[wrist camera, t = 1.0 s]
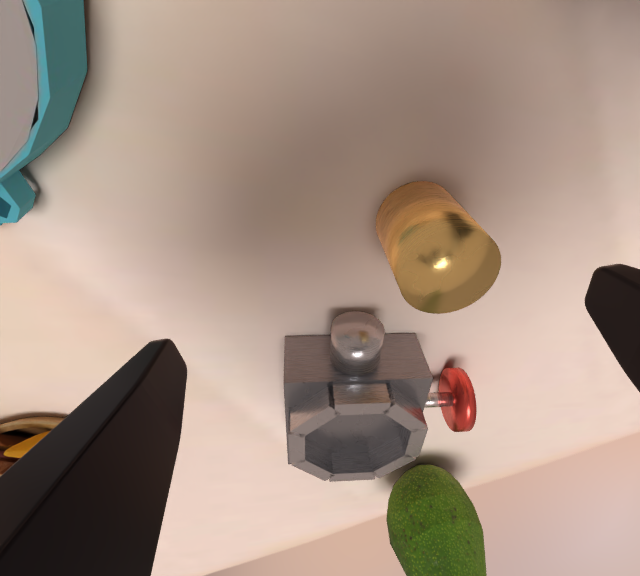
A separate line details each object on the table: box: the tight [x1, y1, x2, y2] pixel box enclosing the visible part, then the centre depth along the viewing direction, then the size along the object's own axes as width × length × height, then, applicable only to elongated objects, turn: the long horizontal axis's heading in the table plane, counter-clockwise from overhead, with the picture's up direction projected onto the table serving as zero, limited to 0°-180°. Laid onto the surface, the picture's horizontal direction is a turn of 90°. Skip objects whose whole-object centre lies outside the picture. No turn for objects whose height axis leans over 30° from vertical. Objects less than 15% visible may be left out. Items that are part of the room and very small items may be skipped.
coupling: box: [376, 181, 501, 314], centre depth 18 cm, size 4×4×6 cm
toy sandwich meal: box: [0, 417, 65, 476], centre depth 29 cm, size 12×14×5 cm
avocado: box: [387, 465, 486, 576], centre depth 31 cm, size 8×8×12 cm
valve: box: [284, 311, 476, 482], centre depth 25 cm, size 13×14×6 cm
